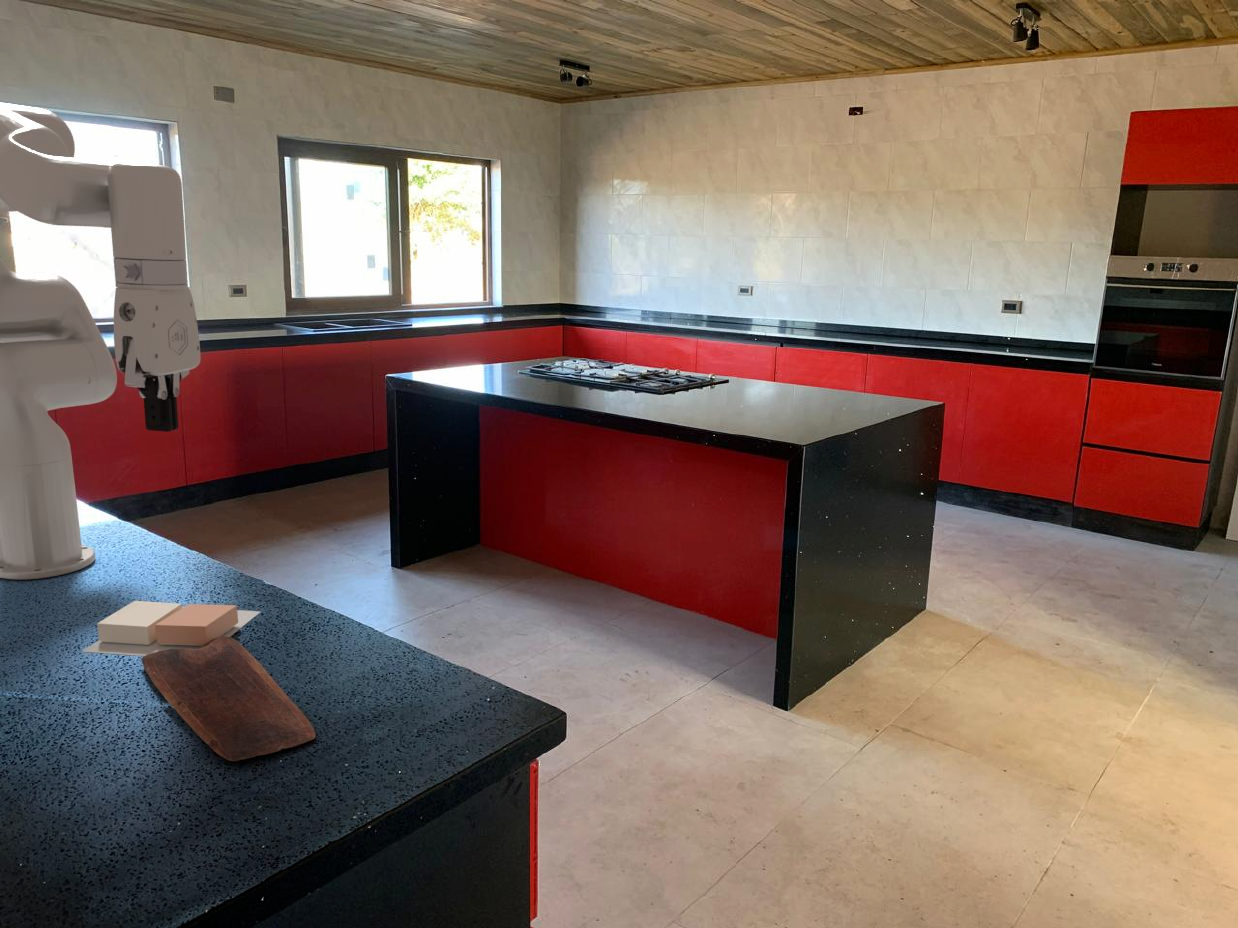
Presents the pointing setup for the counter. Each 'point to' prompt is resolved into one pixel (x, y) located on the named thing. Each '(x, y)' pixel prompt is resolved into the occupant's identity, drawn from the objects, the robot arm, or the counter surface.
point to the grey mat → (155, 647)
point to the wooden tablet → (228, 699)
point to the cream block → (135, 622)
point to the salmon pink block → (196, 624)
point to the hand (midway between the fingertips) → (162, 429)
